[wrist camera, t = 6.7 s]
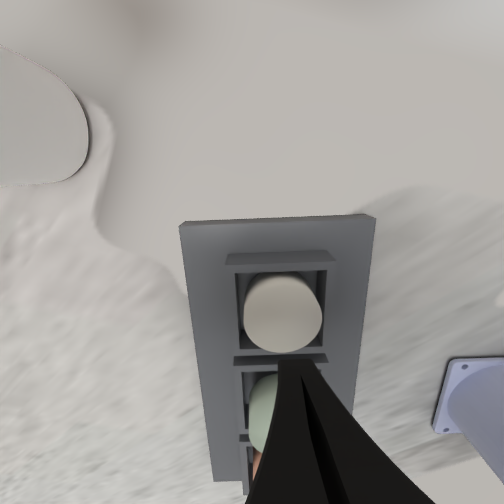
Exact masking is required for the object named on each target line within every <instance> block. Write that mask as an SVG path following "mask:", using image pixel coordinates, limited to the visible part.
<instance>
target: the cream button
mask: <svg viewBox="0 0 504 504" xmlns="http://www.w3.org/2000/svg"><path fill="white" fill-rule="evenodd" d="M243 322H244V328H245V331H246V333H247V335H248V337H249V338H250V339H251V341H252V342H253V343H255V344H256V345H257V346H259V347H260V348H262V349H264V350H267V351H271V352H276V353H286V352H292V351H295V350H298V349H300V348H302V347H304V346H306V345H307V344H309V343H310V342H311V341H312V340H313V339H314V338H315V337H316V335H317V333H318V332H319V330H320V327H321V323H322V312H321V308H320V306H319V304H318V302H317V300H316V298H315V296H314V294H313V292H312V290H311V288H310V286H309V284H308V282H307V281H306V280H305V278H304V277H303V276H301V275H300V274H299V273H297V272H295V271H287V272H262V273H260V274H258V275H257V276H256V277H255V278H254V279H253V280H252V281H251V282H250V283H249V285H248V287H247V289H246V292H245V300H244V321H243Z"/></svg>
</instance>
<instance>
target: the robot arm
mask: <svg viewBox="0 0 504 504" xmlns="http://www.w3.org/2000/svg"><path fill="white" fill-rule="evenodd" d="M277 363H278V385H277V393H276V398H275V404H274V410H273V414H272V419H271V423H270V427H269V431H268V435H267V439H266V442H265V446H264V449H263V453H262V456H261V459H260V462H259V465H258V468H257V471H256V474H255V477H254V480H253V483H252V486H251V489H250V491H249V494H248V497H247V500H246V502H245V504H435V503H434V502H433V501H432V500H431V499H430V498H429V497H428V496H427V495H426V494H425V493H424V492H423V491H421V490H420V489H419V488H418V487H417V486H416V485H415V484H414V483H413V482H412V481H411V480H410V479H409V478H408V477H407V476H406V475H405V474H404V473H403V472H402V471H401V470H400V469H399V468H398V467H397V466H396V465H395V464H394V463H393V462H392V461H391V460H390V458H389V457H388V456H387V455H386V454H385V453H384V452H383V451H382V450H381V449H380V448H379V447H378V446H377V444H376V443H375V442H374V441H373V440H372V439H371V438H370V437H369V435H368V434H367V433H366V432H365V431H364V430H363V428H362V427H361V426H360V425H359V424H358V422H357V421H356V420H355V419H354V418H353V416H352V415H351V414H350V413H349V411H348V410H347V409H346V407H345V406H344V405H343V403H342V402H341V401H340V400H339V398H338V397H337V396H336V394H335V393H334V392H333V390H332V389H331V387H330V386H329V385H328V383H327V382H326V380H325V379H324V377H323V376H322V374H321V373H320V371H319V370H318V368H317V367H316V365H315V363H314V362H313V360H312V359H283V360H279V361H278V362H277ZM432 428H433V430H434V431H435V432H436V433H438V434H445V433H463V434H464V435H465V437H466V438H467V439H468V440H469V442H470V443H471V444H472V445H473V447H474V448H475V449H476V450H477V452H478V453H479V454H480V455H481V457H482V458H483V459H484V460H485V462H486V463H487V464H488V465H489V467H490V468H491V469H492V470H493V471H494V473H495V474H496V475H497V477H498V478H499V479H500V480H501V481H502V483H503V484H504V357H501V358H471V359H454V360H452V361H450V363H449V366H448V370H447V373H446V377H445V381H444V384H443V388H442V392H441V396H440V399H439V403H438V407H437V410H436V414H435V418H434V422H433V425H432Z"/></svg>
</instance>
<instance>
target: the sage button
mask: <svg viewBox="0 0 504 504" xmlns="http://www.w3.org/2000/svg"><path fill="white" fill-rule="evenodd" d="M277 385H278V373H277V374H272V375H268V376H266V377H264V378H262V379H260V380H259V381H258V382H257V383H256V384H255V385H254V386H253V387H252V389H251V391H250V394H249V439H250V442H251V443H252V445H253V446H254V447H255V448H256V449H257V450H258V451H259V452H261V453H263V449H264V446H265V442H266V439H267V435H268V431H269V427H270V423H271V419H272V414H273V410H274V404H275V398H276V393H277Z"/></svg>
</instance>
